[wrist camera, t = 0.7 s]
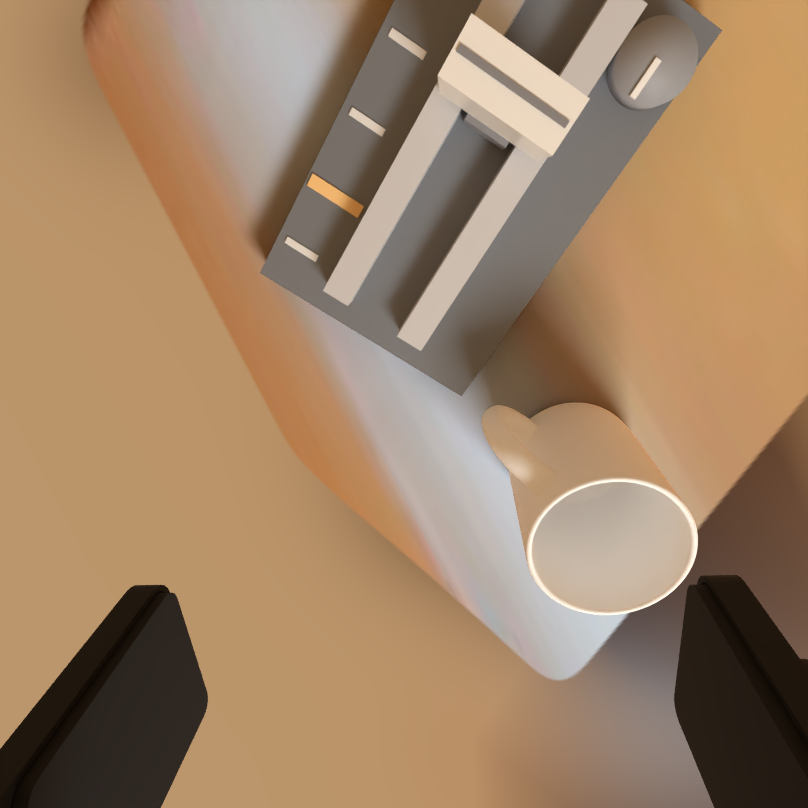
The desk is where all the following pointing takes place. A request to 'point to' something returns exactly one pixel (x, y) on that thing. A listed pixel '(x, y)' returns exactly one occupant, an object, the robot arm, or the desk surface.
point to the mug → (592, 508)
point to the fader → (508, 92)
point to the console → (472, 173)
